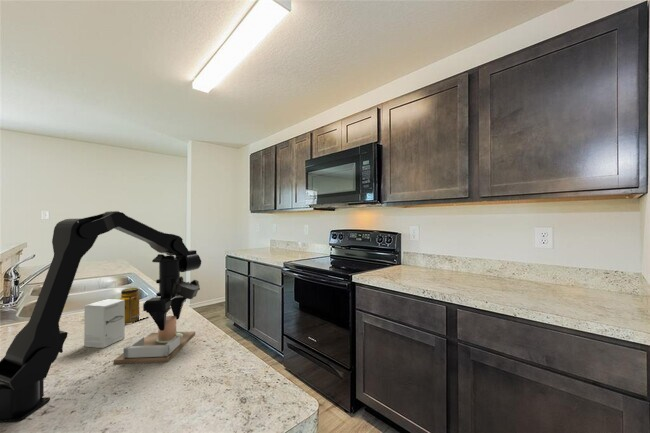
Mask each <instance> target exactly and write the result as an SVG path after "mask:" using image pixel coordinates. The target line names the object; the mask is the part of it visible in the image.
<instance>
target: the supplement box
mask: <svg viewBox="0 0 650 433" xmlns="http://www.w3.org/2000/svg"><path fill="white" fill-rule="evenodd" d="M83 308H84V313H83V314H84V315H83V316H84V324H83V326H84V329H83V330H84V337H83V339H84V340H83V344H84V347H87V348H88V347H89V348H98V349H105V348H106V347H109V346H110V345H113V344H115V343H118V342H119V341H121V340H124V339H125V336H126V335H125V334H126V333H125V332H126V331H125V330H126V329H125V325H126V324H125V300H120V299H114V298H113V299H111V298H107V299H103V300H99V301H96V302H95V301H94V302H92V303H89V304H86V305H84V307H83Z"/></svg>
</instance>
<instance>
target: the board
mask: <svg viewBox="0 0 650 433" xmlns="http://www.w3.org/2000/svg"><path fill="white" fill-rule="evenodd" d="M176 333H177V336H180V345H179V346H178V347H177V348H175V349H174V350H173V351H172V352H171V353H170V354H169V355H168V356H160V357H133V358H124V352H123V353H122V354H120V355H119V356H116V358H115V359H113V364H114V365H116V364H119V365H120V364H121V365H122V364H143V363H147V364H148V363H168V362H169V361H170V360H171V359H172V358H173V357H174V356H175V355H176V354H177V353H178V352H179V351H180V350H181V349H182V348H183V347H184V346H185V345H187V343H188V342H189V341H191V340H192V338H194V336H195V335H196V331H194V330H193V331H176ZM169 341H170V340H169ZM169 341H159V340H158V332H150V334H148V335H147V336H144V346H154V345H166V344H167V343H168V342H169Z"/></svg>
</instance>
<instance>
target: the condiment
mask: <svg viewBox="0 0 650 433" xmlns="http://www.w3.org/2000/svg"><path fill="white" fill-rule="evenodd" d="M120 293H121V294H120V295H121V296H120V298H119V300H125V325H127V326H129V325H131V324H132V325H133V323H132V322H134V323H136V322H135V321H137V320H139V316H140V295H139V289H138V288H137V287H131V288H125V289H122V290H121V292H120ZM137 322H138V321H137Z"/></svg>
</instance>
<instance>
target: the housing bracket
mask: <svg viewBox="0 0 650 433" xmlns="http://www.w3.org/2000/svg"><path fill="white" fill-rule="evenodd" d="M144 338H145V336H140V337H138V338H137V339H135V340H134V341H133V342H131V343H129V344H128V345H127V346H125V347H123V353H124V358H133V357H160V356H168V355H169V354H170V353H171V352H172V351H173V350H174V349H175V348H177V347H178V346H179V345H180V336H175V337H174V338H173V339H172V340H170V341H169V342H168V343H167V344H166V345H154V346H144Z"/></svg>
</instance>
